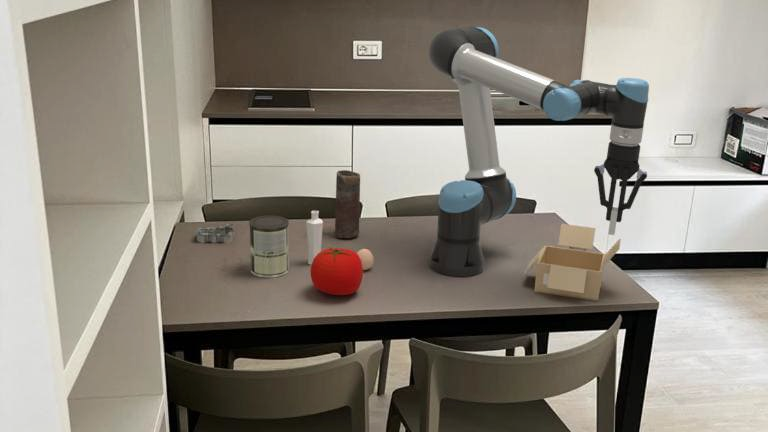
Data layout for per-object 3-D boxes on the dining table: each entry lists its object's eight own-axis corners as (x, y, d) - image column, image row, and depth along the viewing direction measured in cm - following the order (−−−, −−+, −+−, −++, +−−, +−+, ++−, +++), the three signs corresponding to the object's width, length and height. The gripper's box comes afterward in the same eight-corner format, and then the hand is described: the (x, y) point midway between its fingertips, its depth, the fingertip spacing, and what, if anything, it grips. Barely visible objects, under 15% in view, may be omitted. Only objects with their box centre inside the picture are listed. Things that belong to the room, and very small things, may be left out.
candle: (345, 230, 246) (346, 168, 240) (364, 235, 242) (365, 172, 236) (329, 236, 240) (330, 173, 234) (348, 242, 236) (349, 177, 230)
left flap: (538, 258, 206) (525, 275, 208) (543, 248, 213) (529, 264, 215) (537, 257, 206) (523, 274, 208) (542, 247, 213) (528, 263, 215)
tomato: (368, 284, 206) (369, 242, 203) (354, 306, 194) (355, 261, 190) (320, 279, 209) (321, 237, 205) (304, 299, 196) (304, 255, 193)
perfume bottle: (326, 263, 220) (327, 211, 215) (315, 267, 217) (315, 215, 212) (315, 258, 223) (315, 208, 218) (303, 262, 220) (303, 211, 215)
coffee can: (242, 269, 213) (241, 220, 209) (273, 260, 220) (272, 212, 216) (265, 281, 207) (264, 230, 202) (296, 271, 213) (296, 222, 209)
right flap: (602, 265, 200) (617, 248, 198) (604, 254, 208) (619, 238, 205) (603, 266, 200) (619, 249, 198) (606, 255, 208) (621, 239, 205)
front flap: (550, 264, 202) (547, 287, 200) (550, 264, 201) (547, 287, 200) (587, 270, 199) (583, 293, 198) (587, 269, 199) (583, 293, 197)
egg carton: (235, 236, 239) (235, 223, 238) (231, 244, 232) (231, 231, 231) (200, 235, 239) (199, 222, 238) (194, 243, 232) (194, 230, 231)
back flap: (558, 244, 214) (561, 223, 216) (558, 244, 215) (561, 224, 216) (592, 249, 211) (595, 228, 213) (592, 249, 212) (595, 228, 213)
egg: (355, 273, 214) (356, 252, 212) (353, 266, 218) (354, 246, 217) (374, 272, 214) (375, 252, 213) (371, 265, 219) (372, 245, 217)
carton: (534, 291, 205) (537, 263, 203) (542, 272, 218) (544, 245, 215) (597, 301, 200) (601, 272, 198) (601, 281, 213) (605, 253, 211)
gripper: (596, 142, 192) (584, 233, 200) (652, 149, 189) (637, 241, 196) (598, 136, 199) (586, 224, 207) (652, 142, 195) (638, 232, 203)
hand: (611, 232), depth 202 cm, fingers closed
